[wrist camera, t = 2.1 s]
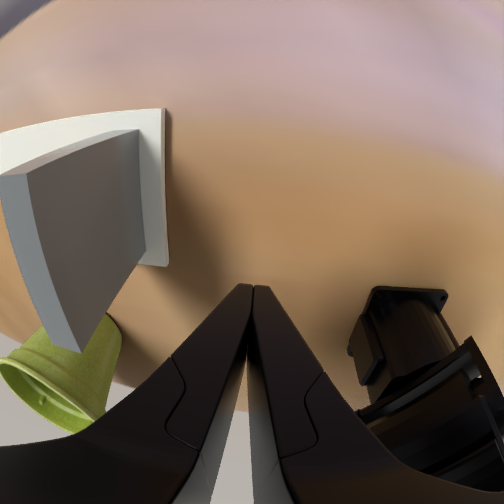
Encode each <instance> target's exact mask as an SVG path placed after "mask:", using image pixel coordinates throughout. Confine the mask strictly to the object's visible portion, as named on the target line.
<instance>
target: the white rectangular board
mask: <svg viewBox="0 0 504 504" xmlns="http://www.w3.org/2000/svg"><path fill="white" fill-rule="evenodd" d="M129 129H139V164H140V186H141V201H142V214H143V225H144V235H145V244H146V252H145V253H144V255H143V256H142V258H141V259H140V260H139V262H138V263H137V264H143V265H152V266H160V267H167V265H168V263H169V251H168V237H167V220H166V198H165V108H158V109H140V110H126V111H115V112H106V113H97V114H90V115H83V116H76V117H70V118H64V119H58V120H53V121H48V122H43V123H38V124H34V125H30V126H25V127H21V128H17V129H13V130H10V131H6V132H3V133H0V174H2V173H4V172H6V171H8V170H10V169H12V168H15V167H17V166H19V165H21V164H23V163H25V162H28V161H30V160H32V159H34V158H37V157H39V156H42V155H44V154H46V153H49V152H51V151H54V150H56V149H59V148H62V147H64V146H67V145H70V144H72V143H75V142H78V141H81V140H84V139H87V138H90V137H93V136H96V135H99V134H102V133H106V132H109V131H114V130H129Z"/></svg>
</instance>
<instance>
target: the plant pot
mask: <svg viewBox="0 0 504 504" xmlns="http://www.w3.org/2000/svg"><path fill="white" fill-rule="evenodd" d="M121 344H122V336H121V333H120V331H119V329H118V327H117V326H116V324H115V323H114V322H113V321H112V320H111V318H110V317H109V316H108V315H106V314H105V315H104V316H103V318H102V320H101V321H100V323H99V325H98V326H97V328H96V330H95V332H94V333H93V335H92V337H91V338H90V340H89V342H88V344H87V345H86V347H85V349H84V351H83V353H82V354H81V353H78V352H75V351H71V350H68V349H65V348H62V347H59V346H56V345H53V344H52V342H51V340H50V338H49V336H48V335H47V333H46V330H45V328H44V326H43V325H42V326H41V327H40V328H39V329H38V330H37V331H36V332H35V333H34V334H33V335H32V336H31V337H30V338H29V339H28V340H27V341H26V342H25V343H24V344H23V345H22V346H21V347H20V348H19V349H15V350H14V351H12V353H10V355H9V356H8V357H7V358H6V357H2V358H0V376H1V377H2V379H3V380H4V382H5V383H6V384H7V385H8V387H9V388H10V389H11V390H12V391H13V392H14V393H15V394H16V395H17V396H18V397H19V398H20V399H21V400H22V401H23V402H24V403H25V404H26V405H27V406H28V407H29V408H31V409H32V410H33V411H35V412H36V413H37V414H39V415H40V416H41V417H43V418H44V419H46V420H47V421H49V422H51V423H52V424H54V425H56V426H57V427H59V428H61V429H63V430H65V431H67V432H69V433H71V434H75V433H77V432H79V431H81V430H83V429H84V428H86V427H87V426H89V425H90V424H92V423H93V422H94V421H96V420H97V419H98V418H100V417H101V416H102V415H103V414H105V413H106V411H105V406H106V402H107V397H108V393H109V389H110V385H111V382H112V378H113V374H114V370H115V366H116V363H117V359H118V356H119V353H120V349H121Z"/></svg>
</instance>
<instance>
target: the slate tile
mask: <svg viewBox="0 0 504 504" xmlns="http://www.w3.org/2000/svg"><path fill="white" fill-rule="evenodd" d="M0 200H1V204H2V209H3V213H4V218H5V222H6V226H7V229H8V233H9V237H10V240H11V244H12V247H13V250H14V253H15V257H16V260H17V263H18V266H19V268H20V271H21V274H22V277H23V280H24V282H25V285H26V287H27V290H28V292H29V295H30V297H31V300H32V302H33V304H34V307H35V309H36V311H37V314H38V316H39V318H40V320H41V322H42V324H43V326H44V328H45V330H46V333H47V335H48V336H49V338H50V340H51V342H52V344H53V345H56V346H59V347H62V348H65V349H68V350H71V351H75V352H78V353H81V354H82V353H83V351H84V349H85V347H86V345H87V344H88V342H89V340H90V338H91V337H92V335H93V333H94V332H95V330H96V328H97V326H98V325H99V323H100V321H101V320H102V318H103V316H104V315H105V313H106V311H107V310H108V308H109V307H110V305H111V303H112V302H113V300H114V299H115V297H116V295H117V294H118V292H119V291H120V289H121V288H122V286H123V285H124V283H125V281H126V280H127V278H128V277H129V275H130V274H131V272H132V271H133V269H134V268H135V266H136V265H137V263H138V262H139V260H140V259H141V258H142V256H143V255H144V253H145V252H146V244H145V235H144V225H143V214H142V201H141V186H140V164H139V129H129V130H114V131H109V132H106V133H102V134H99V135H96V136H93V137H90V138H87V139H84V140H81V141H78V142H75V143H72V144H70V145H67V146H64V147H62V148H59V149H56V150H54V151H51V152H49V153H46V154H44V155H42V156H39V157H37V158H34V159H32V160H30V161H28V162H25V163H23V164H21V165H19V166H17V167H15V168H12V169H10V170H8V171H6V172H4V173H2V174H0Z"/></svg>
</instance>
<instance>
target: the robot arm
mask: <svg viewBox="0 0 504 504" xmlns="http://www.w3.org/2000/svg"><path fill="white" fill-rule="evenodd" d="M378 293H380V294H379V295H377V294H378ZM447 299H448V294H447V292H446V291H445V290H444V289H426V288H408V287H391V286H376V287H374V288H373V289H372V290H371V292H370V295H369V298H368V300H367V303H366V305H365V308H364V310H363V313H362V314H361V315H360V316H359V318H358V320H357V323H356V325H355V328H354V330H353V332H352V335H351V337H350V339H349V342H350V343H349V346H348V348H347V353H348V355H349V356H352V357H353V358H354V362H355V367H356V371H357V375H358V379H359V383H360V384H361V386H367V390H368V394H369V399H370V403H371V405H369V406H367V407H365V408H363V409H361V410H360V409H358V410H356V411H353V409H352V408H351V407H350V406H349V405H348V403H347V402H346V401H345V400H344V398H343V397H342V396H341V394H340V393H339V391H338V390H337V388H336V387H335V386H334V384H333V383H332V381H331V380H330V378H329V377H328V375H327V374H326V372H323V371H324V370H323V368H322V366H321V365H320V363H319V362H318V360H317V359H316V357H315V356H314V354H313V353H312V351H311V350H310V348H309V347H308V345H307V343H306V342H305V340H304V339H303V337H302V336H301V334H300V333H299V331H298V330H297V328H296V327H295V325H294V324H293V322H292V321H291V319H290V318H289V316H288V314H287V313H286V311H285V310H284V308H283V307H282V305H281V304H280V302H279V301H278V299H277V298H276V296H275V295H274V293H273V291H272V290H271V288H270V287H269V286H263V285H255V286H254V288H253V285H251V284H243V283H239V284H237V285H236V287H235V288H234V289H233V290H232V291H231V292H230V293H229V294H228V295H227V296H226V297H225V298H224V299H223V300H222V302H221V303H220V304H219V305H218V306H217V307H216V308H215V309H214V310H213V311H212V312H211V313H210V314H209V315H208V316H207V318H206V319H205V320H204V321H203V322H202V323H201V324H200V325H199V326H198V327H197V328H196V329H195V330H194V331H193V332H192V334H191V335H190V336H189V337H188V338H187V339H186V340H185V341H184V342H183V343H182V344H181V345H180V346H179V347H178V348H177V349H176V350H175V351H174V353H173V354H172V355H171V357H169V358H168V359H167V360H166V361H165V362H164V363H163V364H162V365H161V366H160V367H159V368H158V369H157V370H156V371H155V372H154V373H153V374H152V375H151V376H150V377H149V378H148V379H147V380H146V381H145V382H143V383H142V384H141V385H140V386H139V387H137V388H136V389H135V390H134V391H133V392H132V393H131V394H129V395H128V396H127V397H125V398H124V399H123V400H122V401H120V402H119V403H118V404H116V405H115V406H114V407H113V408H111V409H110V410H109V411H107V412H106V413H105V414H103V415H102V416H101V417H100V418H98V419H97V420H96V421H94V422H93V423H92V424H90V425H89V426H87V427H86V428H84V429H83V430H81V431H79V432H77V433H75V434H73V435H70V436H67V437H63V438H59V439H53V440H48V441H41V442H35V443H28V444H20V445H11V446H0V504H210V501H211V496H212V493H213V490H214V486H215V482H216V479H217V475H218V471H219V467H220V463H221V459H222V456H223V452H224V448H225V444H226V440H227V437H228V433H229V429H230V425H231V421H232V417H233V413H234V409H235V405H236V401H237V397H238V393H239V389H240V385H241V380H242V376H243V372H244V368H245V363H246V357H247V385H248V406H249V425H250V445H251V463H252V481H253V496H254V504H504V397H503V394H502V392H501V390H500V388H499V386H498V384H497V382H496V380H495V378H494V376H493V374H492V372H491V370H490V368H489V366H488V364H487V362H486V360H485V359H484V357H483V355H482V353H481V351H480V350H479V348H478V346H477V344H476V343H475V341H474V339H473V338H472V336H470V337H468V338H467V339H466V340H465V341H464V342H465V343H463V344H462V345H461V346H459V344H458V342H457V341H456V339H455V337H454V335H453V333H452V332H451V330H450V328H449V326H448V325H447V323H446V321H445V319H444V318H443V316H442V314H441V313H440V312H441V310H442V308H443V306H444V304H445V303H446V301H447ZM247 348H248V349H247ZM480 375H481V376H482V377H481V378H477V377H479V376H480Z"/></svg>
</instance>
